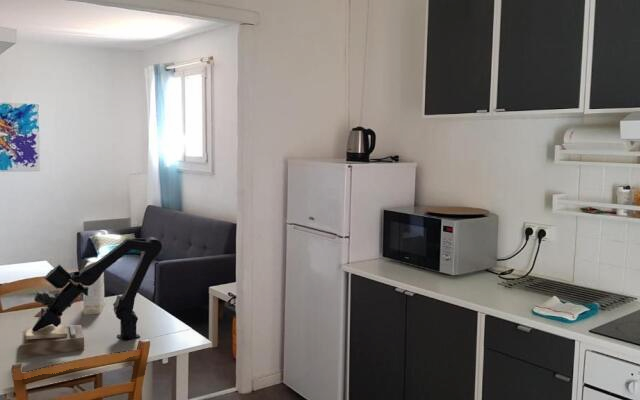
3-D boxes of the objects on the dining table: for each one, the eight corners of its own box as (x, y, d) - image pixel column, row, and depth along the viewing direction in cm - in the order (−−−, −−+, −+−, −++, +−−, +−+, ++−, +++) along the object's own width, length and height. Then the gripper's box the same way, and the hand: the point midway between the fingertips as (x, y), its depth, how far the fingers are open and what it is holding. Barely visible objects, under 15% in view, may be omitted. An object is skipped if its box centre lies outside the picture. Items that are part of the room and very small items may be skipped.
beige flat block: (81, 336, 214) (81, 322, 213) (84, 349, 200) (83, 334, 200) (22, 343, 205) (22, 328, 204) (21, 357, 192) (21, 342, 191)
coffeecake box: (88, 304, 254) (87, 261, 253) (105, 303, 256) (104, 261, 254) (82, 314, 240) (81, 269, 238) (100, 313, 242) (99, 268, 240)
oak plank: (65, 328, 209) (66, 325, 209) (67, 336, 200) (67, 333, 200) (26, 330, 203) (26, 327, 203) (25, 339, 194) (25, 336, 194)
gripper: (48, 276, 208) (15, 309, 204) (49, 288, 192) (13, 324, 188) (72, 295, 212) (40, 327, 209) (75, 309, 196) (40, 344, 192)
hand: (33, 330), depth 199 cm, fingers closed, pressing on oak plank
